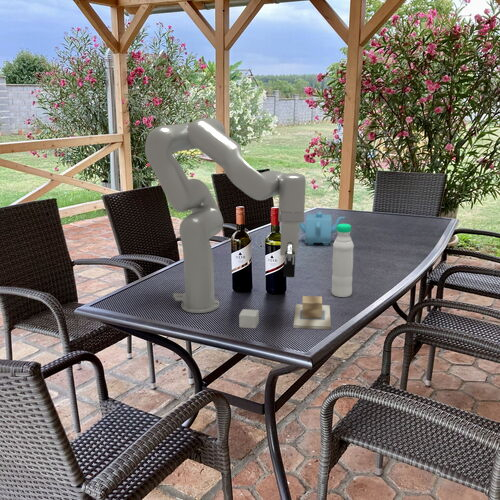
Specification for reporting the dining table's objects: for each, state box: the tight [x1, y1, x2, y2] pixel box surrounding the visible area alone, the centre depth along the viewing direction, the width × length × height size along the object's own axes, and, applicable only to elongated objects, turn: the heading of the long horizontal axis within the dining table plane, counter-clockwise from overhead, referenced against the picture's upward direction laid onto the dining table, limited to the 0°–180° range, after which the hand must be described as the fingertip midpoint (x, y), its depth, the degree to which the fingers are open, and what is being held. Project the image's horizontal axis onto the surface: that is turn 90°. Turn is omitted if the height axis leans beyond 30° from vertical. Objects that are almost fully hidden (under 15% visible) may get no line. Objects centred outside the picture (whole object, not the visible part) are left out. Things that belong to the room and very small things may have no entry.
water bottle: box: [331, 223, 355, 298], centre depth 179 cm, size 7×7×25 cm
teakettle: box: [300, 210, 346, 247], centre depth 250 cm, size 19×19×15 cm
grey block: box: [238, 308, 260, 329], centre depth 158 cm, size 5×5×4 cm
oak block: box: [302, 295, 323, 319], centre depth 162 cm, size 6×6×5 cm
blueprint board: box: [293, 303, 332, 331], centre depth 162 cm, size 11×17×1 cm, turn 173°
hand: (289, 271), depth 157 cm, fingers open, 9 cm apart
